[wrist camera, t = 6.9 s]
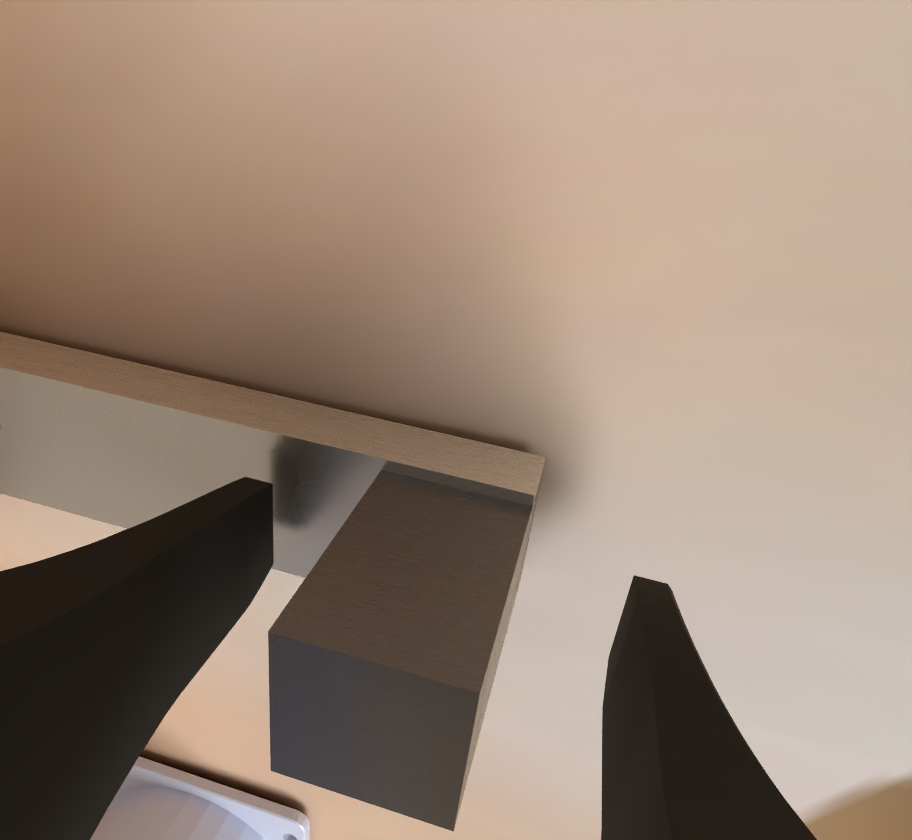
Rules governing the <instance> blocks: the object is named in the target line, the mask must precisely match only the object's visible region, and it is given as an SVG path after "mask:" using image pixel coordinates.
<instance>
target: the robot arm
mask: <svg viewBox="0 0 912 840" xmlns="http://www.w3.org/2000/svg"><path fill="white" fill-rule="evenodd" d="M273 564H274V548H273V484H272V483H268V482H264V481H260V480H256V479H252V478H248V477H243V478H241V479H238V480H236V481H233V482H231V483H229V484H227V485H224V486H222V487H220V488H218V489H216V490H213V491H211V492H209V493H207V494H205V495H203V496H201V497H198V498H196V499H194V500H192V501H190V502H188V503H186V504H183V505H181V506H179V507H177V508H175V509H172V510H170V511H168V512H166V513H164V514H162V515H159V516H157V517H155V518H153V519H150V520H148V521H146V522H143V523H141V524H138V525H136V526H134V527H131V528H129V529H126V530H124V531H121V532H119V533H117V534H114V535H112V536H109V537H107V538H104V539H102V540H99V541H97V542H94V543H91V544H89V545H86V546H83V547H80V548H77V549H75V550H72V551H69V552H66V553H62V554H59V555H56V556H53V557H50V558H47V559H44V560H41V561H37V562H34V563H31V564H27V565H23V566H19V567H15V568H12V569H8V570H4V571H0V840H309V837H310V823H309V820H308V818H307V817H306V815H304V814H303V813H302V812H300V811H298V810H296V809H293V808H290V807H287V806H284V805H281V804H278V803H275V802H272V801H269V800H266V799H263V798H260V797H257V796H254V795H252V794H249V793H246V792H243V791H240V790H237V789H234V788H231V787H228V786H225V785H222V784H219V783H216V782H213V781H210V780H207V779H205V778H202V777H199V776H196V775H193V774H190V773H187V772H184V771H181V770H178V769H175V768H172V767H169V766H166V765H163V764H160V763H157V762H155V761H152V760H149V759H146V758H143V757H140V754H141V752H142V751H143V749H144V748H145V746H146V745H147V743H148V741H149V740H150V738H151V737H152V735H153V734H154V732H155V730H156V729H157V727H158V726H159V724H160V723H161V721H162V719H163V718H164V716H165V715H166V713H167V712H168V710H169V709H170V708H171V706H172V705H173V704H174V702H175V701H176V699H177V698H178V697H179V695H180V694H181V692H182V691H183V690H184V689H185V687H186V686H187V685H188V684H189V682H190V681H191V680H192V678H193V677H194V676H195V675H196V673H197V672H198V671H199V670H200V668H201V667H202V666H203V664H204V663H205V662H206V661H207V659H208V658H209V657H210V656H211V654H212V653H213V652H214V651H215V649H216V648H217V647H218V645H219V644H220V643H221V642H222V640H223V639H224V638H225V637H226V635H227V634H228V633H229V631H230V630H231V629H232V627H233V626H234V625H235V624H236V622H237V621H238V620H239V618H240V617H241V616H242V614H243V613H244V612H245V610H246V609H247V608H248V606H249V605H250V603H251V602H252V600H253V599H254V597H255V595H256V594H257V592H258V590H259V589H260V587H261V585H262V583H263V582H264V580H265V578H266V576H267V575H268V573H269V571H270V569H271V567H272V566H273ZM601 840H817V839H816V838H815V837H814V835H813V834H812V833H811V832H810V830H809V829H808V828H807V827H806V825H805V824H804V823H803V821H802V820H801V819H800V818H799V816H798V815H797V814H796V813H795V811H794V810H793V809H792V808H791V806H790V805H789V804H788V803H787V801H786V800H785V799H784V797H783V796H782V794H781V793H780V792H779V790H778V789H777V787H776V786H775V785H774V783H773V782H772V780H771V779H770V778H769V776H768V775H767V773H766V772H765V770H764V769H763V767H762V766H761V764H760V763H759V761H758V760H757V758H756V757H755V755H754V754H753V752H752V751H751V749H750V747H749V746H748V744H747V743H746V741H745V739H744V738H743V736H742V734H741V733H740V731H739V729H738V728H737V726H736V724H735V723H734V721H733V719H732V717H731V716H730V714H729V712H728V710H727V709H726V707H725V705H724V703H723V702H722V700H721V698H720V696H719V694H718V692H717V690H716V688H715V687H714V685H713V683H712V681H711V679H710V677H709V675H708V673H707V670H706V668H705V666H704V664H703V662H702V660H701V658H700V656H699V654H698V652H697V650H696V648H695V646H694V643H693V641H692V639H691V637H690V634H689V632H688V630H687V627H686V625H685V623H684V620H683V618H682V615H681V613H680V610H679V608H678V605H677V603H676V600H675V597H674V595H673V592H672V590H671V588H670V587H669V585H668V584H666V583H662V582H658V581H654V580H650V579H646V578H642V577H638V576H634V577H633V580H632V583H631V586H630V590H629V593H628V596H627V599H626V603H625V606H624V609H623V612H622V616H621V619H620V622H619V625H618V629H617V632H616V635H615V638H614V642H613V645H612V648H611V651H610V655H609V660H608V668H607V676H606V684H605V692H604V701H603V720H602V833H601Z"/></svg>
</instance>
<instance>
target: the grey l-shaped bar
mask: <svg viewBox="0 0 912 840" xmlns="http://www.w3.org/2000/svg"><path fill="white" fill-rule="evenodd" d="M545 459H546V457H544V456H540V455H535V454H531V453H527V452H522V451H518V450H514V449H509V448H505V447H501V446H496V445H492V444H488V443H483V442H479V441H474V440H470V439H466V438H461V437H457V436H453V435H448V434H444V433H440V432H435V431H431V430H427V429H422V428H418V427H414V426H409V425H405V424H400V423H396V422H392V421H387V420H383V419H379V418H374V417H370V416H366V415H361V414H357V413H353V412H348V411H344V410H340V409H335V408H331V407H327V406H322V405H318V404H313V403H309V402H305V401H300V400H296V399H292V398H287V397H283V396H279V395H274V394H270V393H266V392H261V391H257V390H253V389H248V388H244V387H240V386H235V385H231V384H226V383H222V382H218V381H213V380H209V379H205V378H200V377H196V376H192V375H187V374H183V373H179V372H174V371H170V370H166V369H161V368H157V367H153V366H148V365H144V364H139V363H135V362H131V361H126V360H122V359H118V358H113V357H109V356H105V355H100V354H96V353H92V352H87V351H83V350H79V349H74V348H70V347H65V346H61V345H57V344H52V343H48V342H44V341H39V340H35V339H31V338H26V337H22V336H18V335H13V334H9V333H5V332H0V493H1V494H5V495H9V496H12V497H16V498H19V499H23V500H27V501H30V502H34V503H38V504H41V505H45V506H48V507H52V508H56V509H59V510H63V511H66V512H70V513H74V514H77V515H81V516H84V517H88V518H92V519H95V520H99V521H102V522H106V523H110V524H113V525H117V526H121V527H124V528H128V529H129V528H131V527H134V526H136V525H138V524H141V523H143V522H146V521H148V520H150V519H153V518H155V517H157V516H159V515H162V514H164V513H166V512H168V511H170V510H172V509H175V508H177V507H179V506H181V505H183V504H186V503H188V502H190V501H192V500H194V499H196V498H198V497H201V496H203V495H205V494H207V493H209V492H211V491H213V490H216V489H218V488H220V487H222V486H224V485H227V484H229V483H231V482H233V481H236V480H238V479H241V478H243V477H248V478H252V479H256V480H260V481H264V482H268V483H272V484H273V548H274V564H273V566H272V567H271V568H272V569H276V570H279V571H283V572H287V573H290V574H294V575H297V576H301V577H305V580H304V581H303V583H302V584H301V585H300V587H299V588H298V590H297V591H296V593H295V594H294V595H293V597H292V598H291V600H290V601H289V603H288V604H287V605H286V607H285V608H284V610H283V611H282V613H281V614H280V615H279V617H278V618H277V620H276V621H275V623H274V624H273V626H272V627H271V628H270V630H269V631H268V639H269V696H270V753H271V771H273V772H276V773H279V774H283V775H286V776H289V777H292V778H295V779H298V780H301V781H304V782H307V783H310V784H313V785H316V786H319V787H322V788H325V789H328V790H331V791H334V792H337V793H340V794H343V795H346V796H349V797H352V798H355V799H358V800H361V801H364V802H367V803H370V804H373V805H376V806H379V807H382V808H385V809H388V810H391V811H394V812H397V813H400V814H403V815H406V816H409V817H412V818H415V819H418V820H421V821H424V822H427V823H430V824H433V825H436V826H439V827H442V828H445V829H448V830H451V831H454V828H455V824H456V820H457V816H458V813H459V809H460V805H461V801H462V798H463V794H464V790H465V786H466V782H467V779H468V775H469V771H470V767H471V764H472V760H473V756H474V752H475V748H476V745H477V741H478V737H479V733H480V730H481V726H482V722H483V718H484V715H485V711H486V707H487V703H488V699H489V696H490V692H491V688H492V684H493V681H494V677H495V673H496V669H497V665H498V662H499V658H500V654H501V650H502V647H503V643H504V639H505V635H506V633H507V630H508V626H509V622H510V618H511V615H512V611H513V607H514V603H515V599H516V596H517V592H518V588H519V583H520V579H521V574H522V569H523V564H524V559H525V555H526V550H527V545H528V540H529V535H530V531H531V526H532V521H533V516H534V511H535V507H536V502H537V497H538V492H539V487H540V483H541V478H542V473H543V468H544V463H545Z"/></svg>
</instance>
